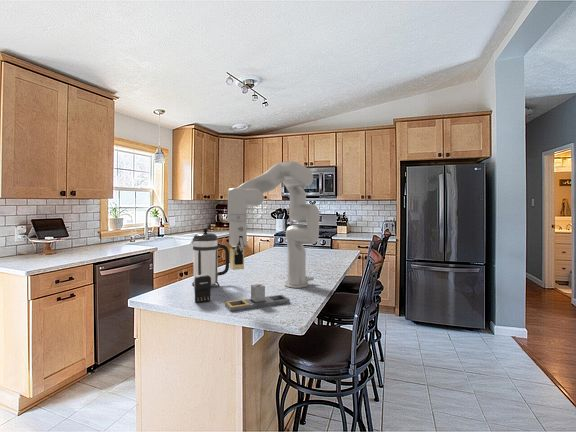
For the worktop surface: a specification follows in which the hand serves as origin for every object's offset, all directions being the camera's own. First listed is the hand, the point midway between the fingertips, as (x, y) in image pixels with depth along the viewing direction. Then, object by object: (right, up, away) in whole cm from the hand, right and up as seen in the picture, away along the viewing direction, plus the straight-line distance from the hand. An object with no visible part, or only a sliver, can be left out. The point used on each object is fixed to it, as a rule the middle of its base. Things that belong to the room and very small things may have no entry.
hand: (236, 263), depth 130 cm
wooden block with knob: (0, -2, 0) cm, 2 cm away
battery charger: (-16, -18, +8) cm, 26 cm away
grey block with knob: (+8, -18, +5) cm, 20 cm away
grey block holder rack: (+8, -18, +5) cm, 20 cm away
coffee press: (-21, -17, +36) cm, 45 cm away
